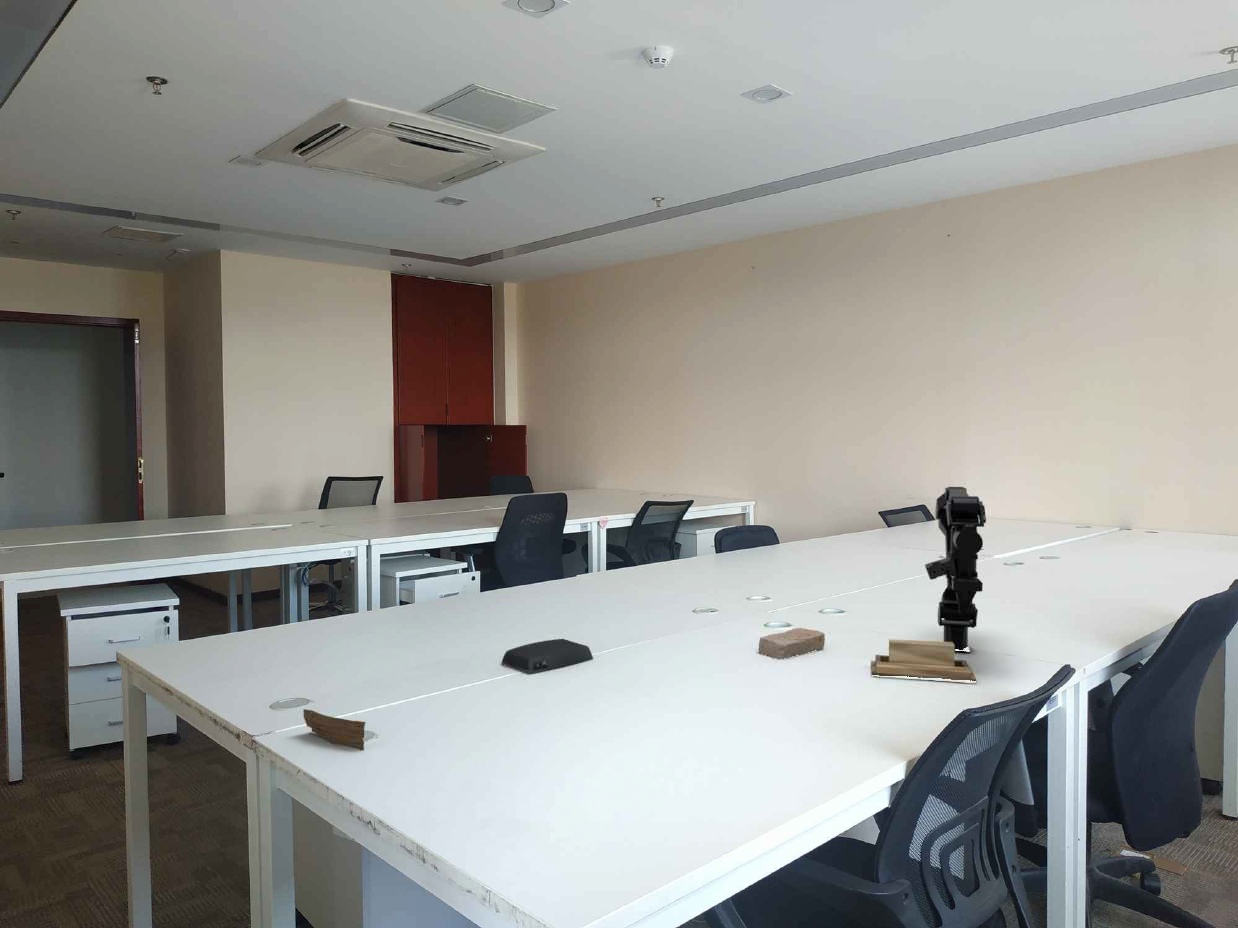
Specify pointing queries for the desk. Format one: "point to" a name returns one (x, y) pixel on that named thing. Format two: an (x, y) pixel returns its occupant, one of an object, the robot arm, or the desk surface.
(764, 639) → the brick
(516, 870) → the desk surface
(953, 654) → the oak plank
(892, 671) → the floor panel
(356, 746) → the wood plank
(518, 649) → the external hard drive
